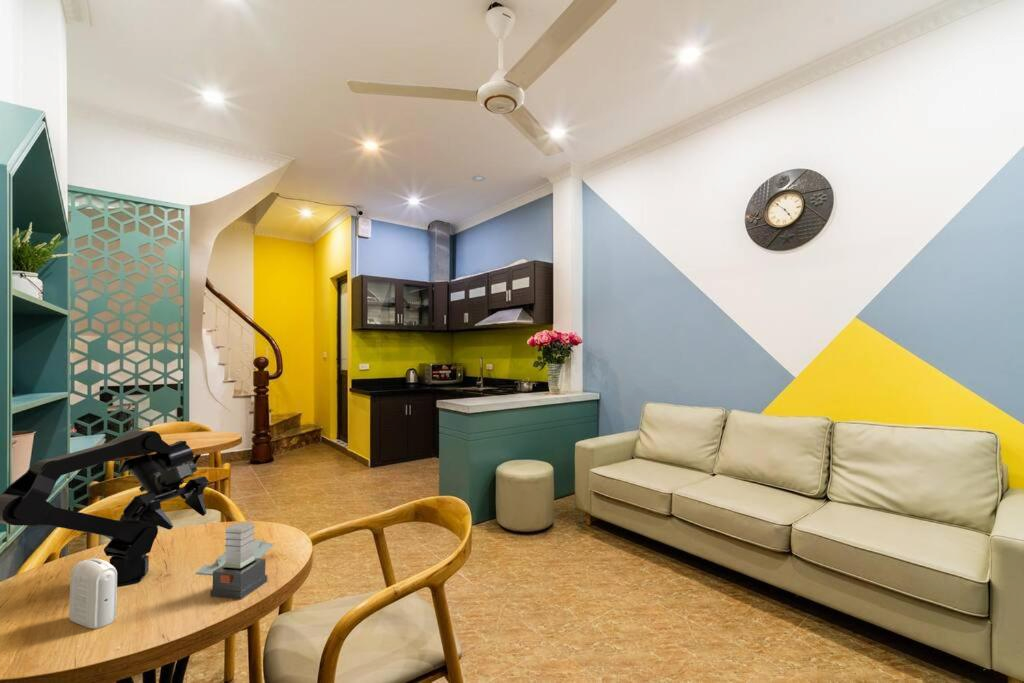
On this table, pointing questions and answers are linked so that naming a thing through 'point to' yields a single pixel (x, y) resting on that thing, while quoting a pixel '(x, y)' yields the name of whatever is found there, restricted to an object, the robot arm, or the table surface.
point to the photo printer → (93, 593)
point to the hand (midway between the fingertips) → (188, 521)
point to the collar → (238, 580)
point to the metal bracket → (259, 551)
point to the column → (239, 545)
